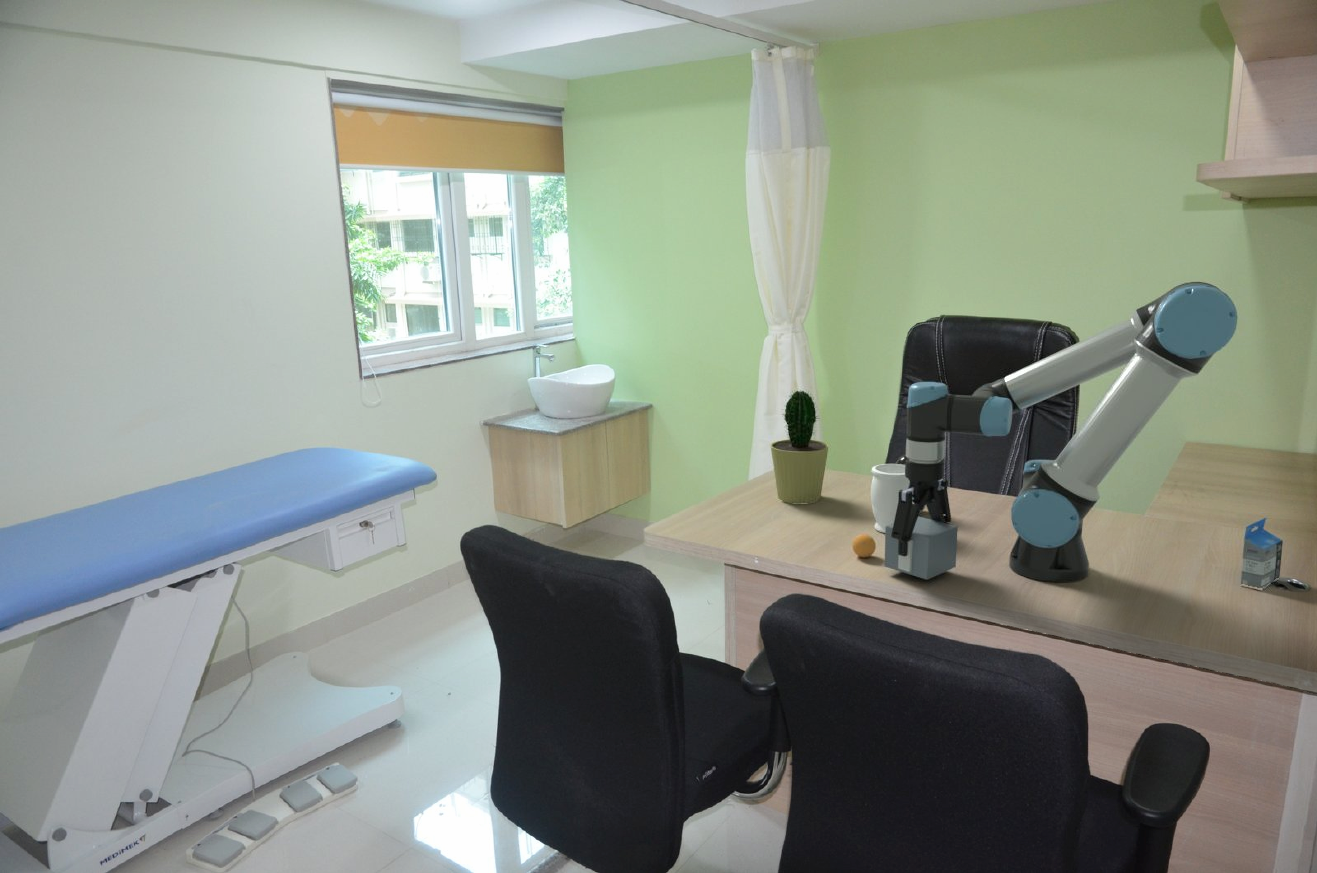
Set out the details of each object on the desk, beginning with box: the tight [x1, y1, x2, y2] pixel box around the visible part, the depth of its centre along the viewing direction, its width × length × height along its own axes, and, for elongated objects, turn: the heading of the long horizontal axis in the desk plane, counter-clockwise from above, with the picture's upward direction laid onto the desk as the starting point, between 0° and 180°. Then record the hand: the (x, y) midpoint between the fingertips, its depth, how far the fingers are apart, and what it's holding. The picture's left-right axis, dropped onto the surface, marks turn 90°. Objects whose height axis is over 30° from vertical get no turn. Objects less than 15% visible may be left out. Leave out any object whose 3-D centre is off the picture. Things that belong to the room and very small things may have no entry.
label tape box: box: [1240, 517, 1284, 588], centre depth 173 cm, size 9×4×12 cm, turn 126°
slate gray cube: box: [884, 515, 959, 580], centre depth 182 cm, size 10×10×9 cm
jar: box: [870, 463, 914, 534], centre depth 211 cm, size 11×10×15 cm
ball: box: [851, 534, 877, 558], centre depth 194 cm, size 5×5×5 cm
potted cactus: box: [769, 390, 830, 504], centre depth 236 cm, size 15×15×30 cm
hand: (920, 563), depth 183 cm, fingers closed on slate gray cube, 10 cm apart
